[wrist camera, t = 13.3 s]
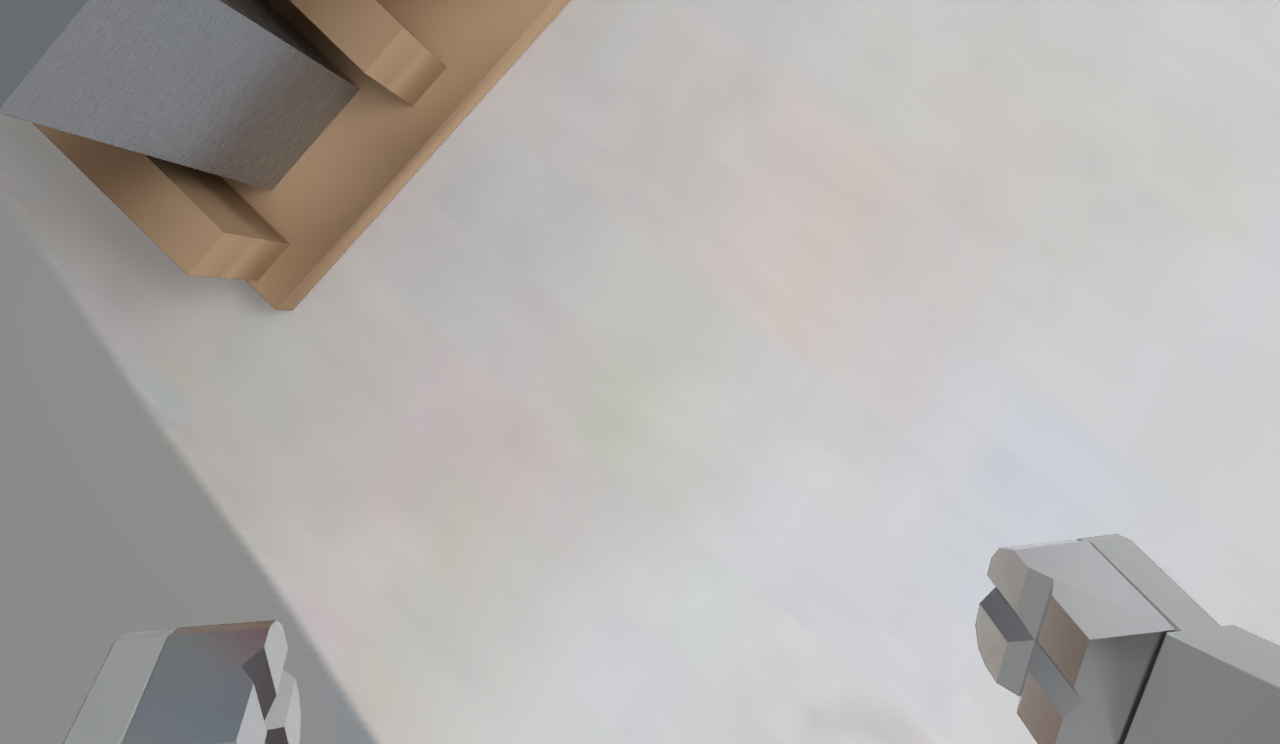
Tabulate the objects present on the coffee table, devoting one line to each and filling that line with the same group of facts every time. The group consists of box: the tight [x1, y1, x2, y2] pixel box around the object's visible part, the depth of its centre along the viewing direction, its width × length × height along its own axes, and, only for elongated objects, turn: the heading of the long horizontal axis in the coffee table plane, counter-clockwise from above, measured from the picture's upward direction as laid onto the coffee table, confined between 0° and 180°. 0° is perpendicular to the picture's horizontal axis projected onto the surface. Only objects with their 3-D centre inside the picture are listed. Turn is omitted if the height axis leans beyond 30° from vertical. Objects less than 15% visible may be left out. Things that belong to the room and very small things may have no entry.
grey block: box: [0, 0, 360, 191], centre depth 21 cm, size 6×4×10 cm
